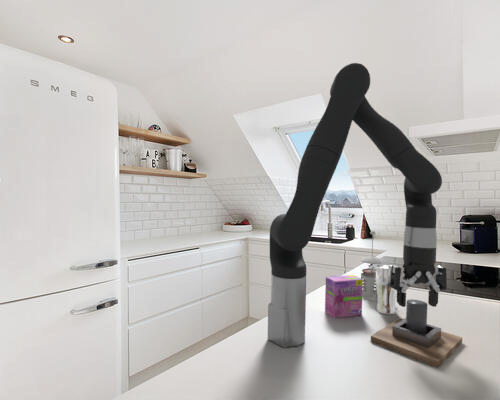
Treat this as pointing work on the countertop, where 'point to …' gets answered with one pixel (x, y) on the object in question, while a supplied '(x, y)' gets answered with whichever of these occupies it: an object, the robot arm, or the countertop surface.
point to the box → (343, 296)
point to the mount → (418, 342)
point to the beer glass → (385, 290)
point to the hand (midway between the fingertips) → (417, 305)
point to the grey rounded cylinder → (416, 316)
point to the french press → (370, 276)
